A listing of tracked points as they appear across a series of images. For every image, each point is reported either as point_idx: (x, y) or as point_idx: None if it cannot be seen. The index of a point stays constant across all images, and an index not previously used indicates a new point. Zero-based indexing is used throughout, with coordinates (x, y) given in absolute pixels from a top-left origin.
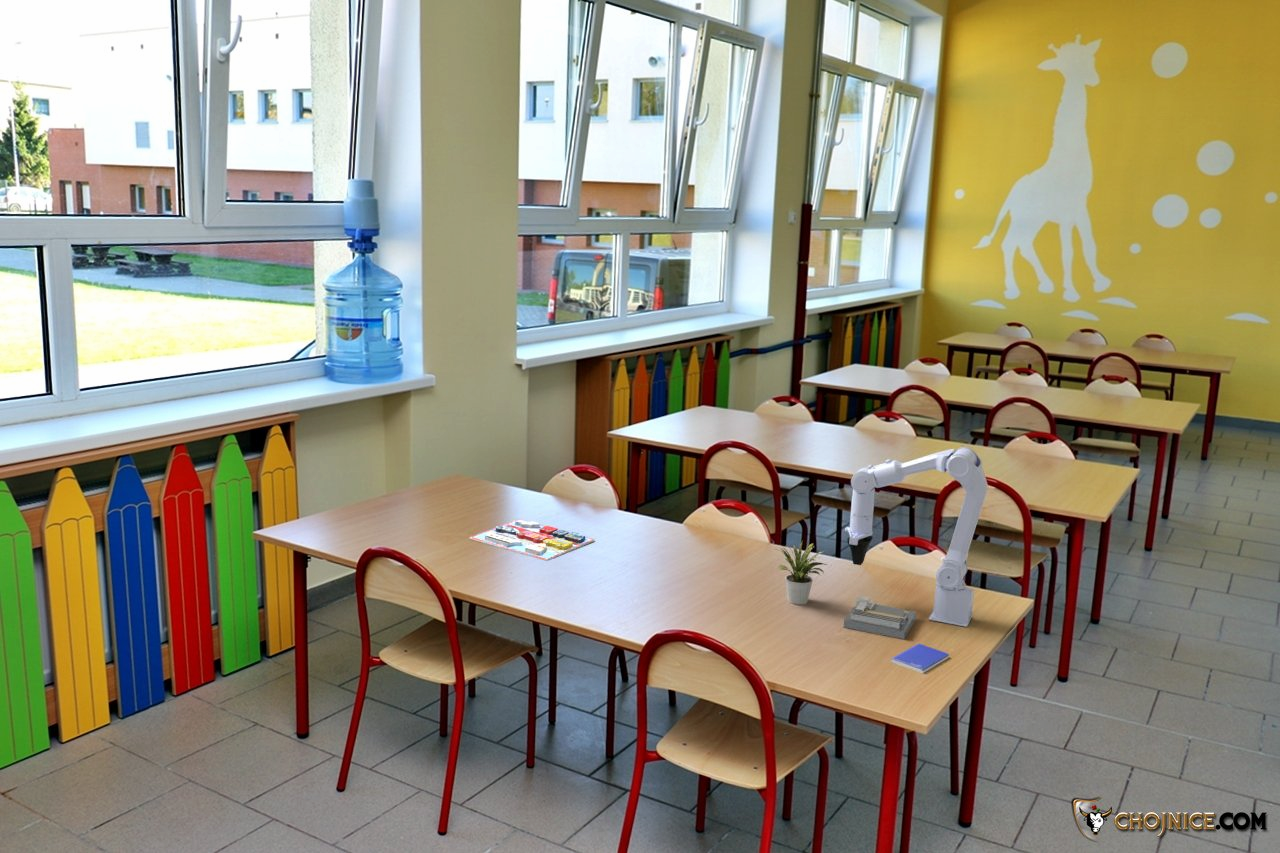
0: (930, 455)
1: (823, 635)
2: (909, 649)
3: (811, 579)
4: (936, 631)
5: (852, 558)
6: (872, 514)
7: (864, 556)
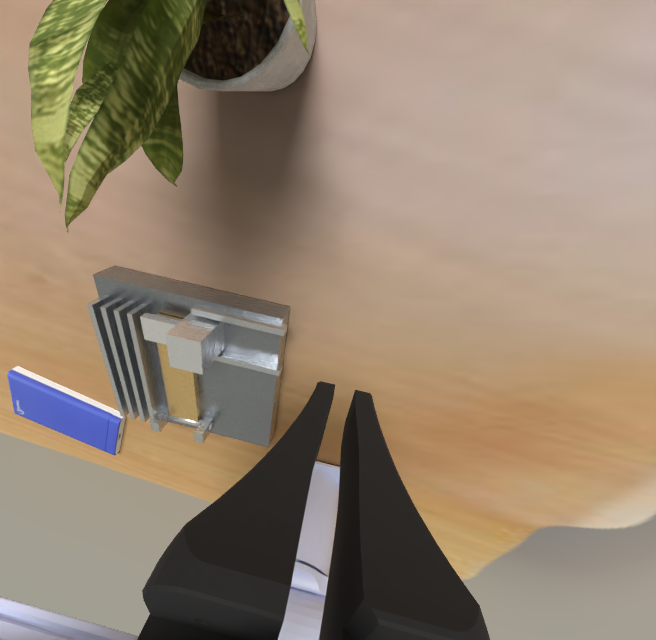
0: None
1: (14, 206)
2: (76, 405)
3: (233, 78)
4: (226, 452)
5: (306, 404)
6: None
7: (340, 473)
